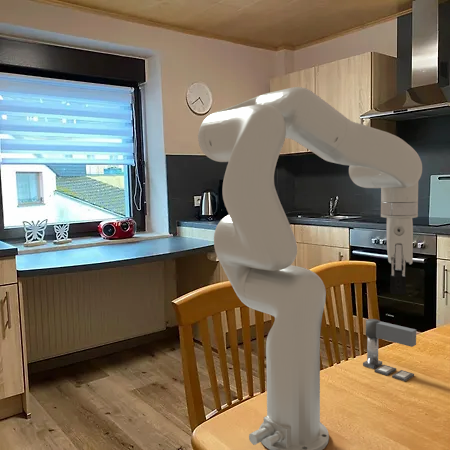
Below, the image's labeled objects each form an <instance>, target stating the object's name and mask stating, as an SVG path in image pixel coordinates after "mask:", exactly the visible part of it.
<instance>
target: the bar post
mask: <svg viewBox="0 0 450 450" xmlns="http://www.w3.org/2000/svg"><path fill="white" fill-rule="evenodd" d="M366 337H367V340H366V341H367V345H366V346H367V349H366V352H367V353H366V354H367V355H366V357H367V358H366V360H365V361H363V362H362V366H363V367H366V368H368V369H372V370H375V369H377V368H379V367H381V366H382V365H383V361H381V360H379V338H373V337H368V336H366Z"/></svg>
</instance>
